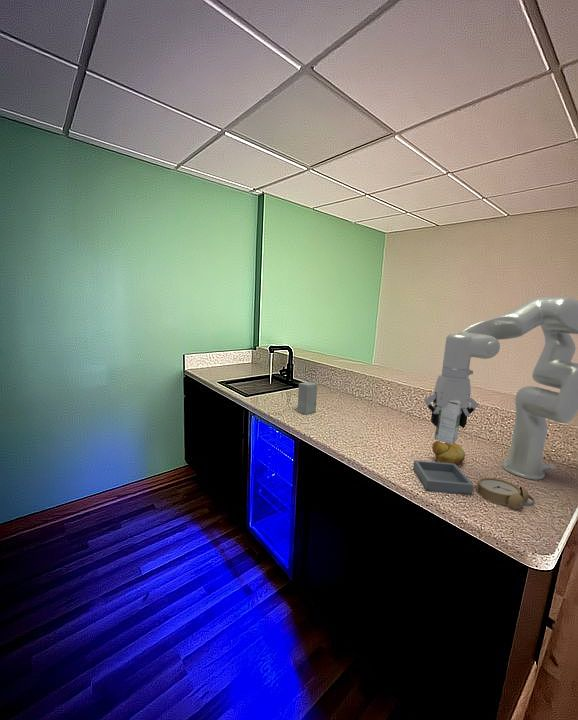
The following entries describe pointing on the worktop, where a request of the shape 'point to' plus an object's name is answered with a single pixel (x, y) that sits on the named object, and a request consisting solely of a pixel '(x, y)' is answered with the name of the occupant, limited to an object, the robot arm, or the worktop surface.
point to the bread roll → (448, 452)
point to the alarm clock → (504, 493)
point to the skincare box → (307, 397)
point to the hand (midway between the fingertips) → (447, 425)
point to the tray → (442, 477)
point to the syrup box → (448, 422)
